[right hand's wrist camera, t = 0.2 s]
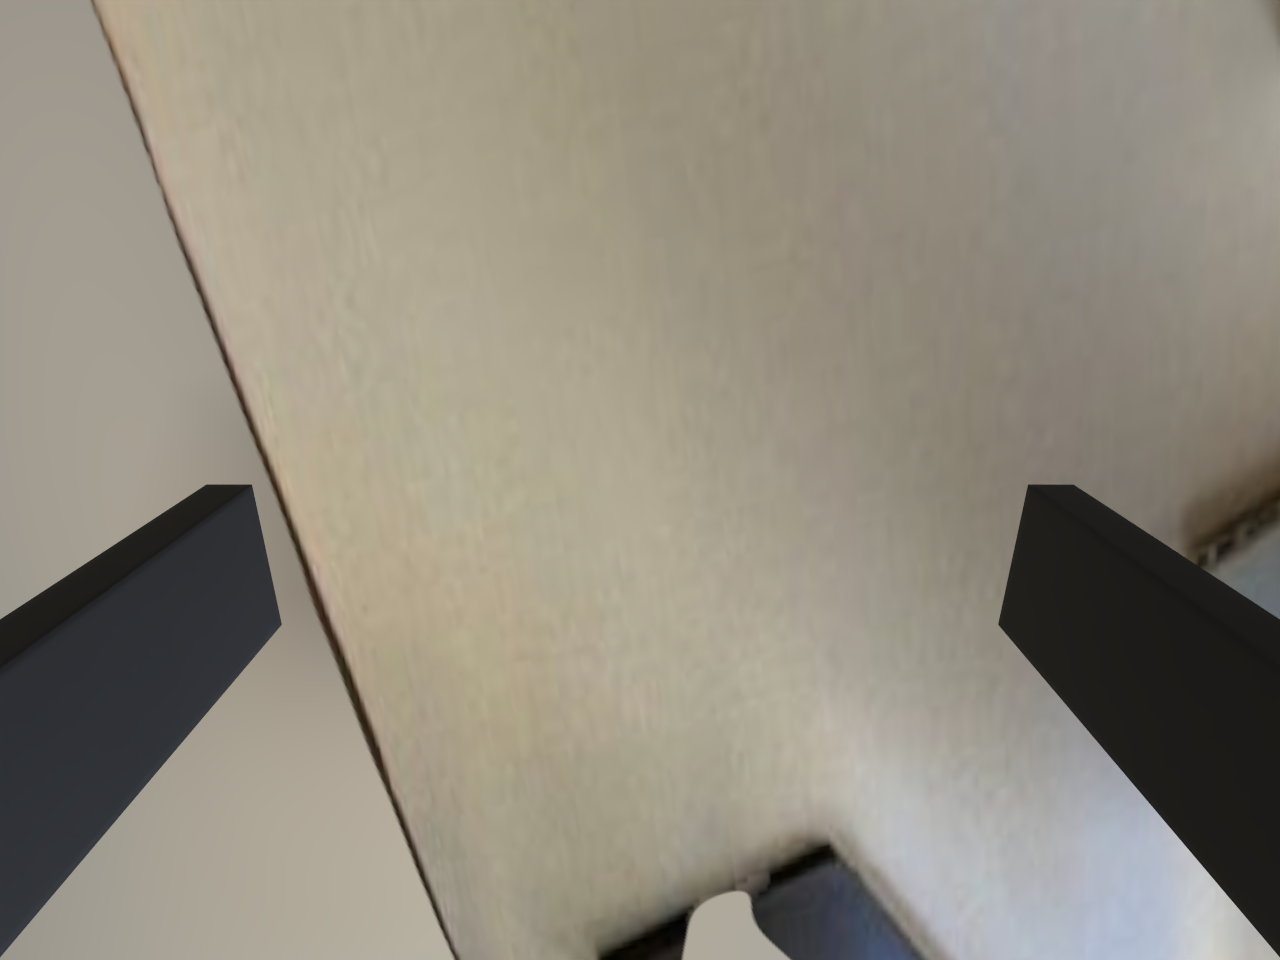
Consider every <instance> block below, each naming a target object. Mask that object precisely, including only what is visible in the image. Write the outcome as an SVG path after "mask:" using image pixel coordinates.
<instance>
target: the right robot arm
mask: <svg viewBox="0 0 1280 960" xmlns="http://www.w3.org/2000/svg"><path fill="white" fill-rule="evenodd" d="M998 625H999V626H1000V627H1001V628H1002V629H1003V631H1004V632H1005V633H1006V634H1007V635H1008V637H1009V638H1010V639H1011V640H1012V641H1013V642H1014V644H1015V645H1016V646H1017V647H1018V648H1019V650H1020V651H1021V652H1022V653H1023V654H1024V655H1025V657H1026V658H1027V659H1028V660H1029V661H1030V663H1031V664H1032V665H1033V666H1034V667H1035V668H1036V670H1037V671H1038V672H1039V673H1040V674H1041V676H1042V677H1043V678H1044V679H1045V680H1046V681H1047V683H1048V684H1049V685H1050V686H1051V687H1052V689H1053V690H1054V691H1055V692H1056V693H1057V694H1058V696H1059V697H1060V698H1061V699H1062V700H1063V702H1064V703H1065V704H1066V705H1067V706H1068V707H1069V709H1070V710H1071V711H1072V712H1073V713H1074V715H1075V716H1076V717H1077V718H1078V719H1079V720H1080V722H1081V723H1082V724H1083V725H1084V726H1085V728H1086V729H1087V730H1088V731H1089V732H1090V733H1091V735H1092V736H1093V737H1094V738H1095V739H1096V741H1097V742H1098V743H1099V744H1100V745H1101V746H1102V748H1103V749H1104V750H1105V751H1106V752H1107V754H1108V755H1109V756H1110V757H1111V758H1112V759H1113V761H1114V762H1115V763H1116V764H1117V765H1118V767H1119V768H1120V769H1121V770H1122V771H1123V772H1124V774H1125V775H1126V776H1127V777H1128V778H1129V780H1130V781H1131V782H1132V783H1133V784H1134V785H1135V787H1136V788H1137V789H1138V790H1139V791H1140V792H1141V794H1142V795H1143V796H1144V797H1145V798H1146V800H1147V801H1148V802H1149V803H1150V804H1151V805H1152V807H1153V808H1154V809H1155V810H1156V811H1157V813H1158V814H1159V815H1160V816H1161V817H1162V818H1163V820H1164V821H1165V822H1166V823H1167V824H1168V826H1169V827H1170V828H1171V829H1172V830H1173V831H1174V833H1175V834H1176V835H1177V836H1178V837H1179V839H1180V840H1181V841H1182V842H1183V843H1184V844H1185V846H1186V847H1187V848H1188V849H1189V850H1190V852H1191V853H1192V854H1193V855H1194V856H1195V857H1196V859H1197V860H1198V861H1199V862H1200V863H1201V865H1202V866H1203V867H1204V868H1205V869H1206V870H1207V872H1208V873H1209V874H1210V875H1211V876H1212V878H1213V879H1214V880H1215V881H1216V882H1217V883H1218V885H1219V886H1220V887H1221V888H1222V889H1223V891H1224V892H1225V893H1226V894H1227V895H1228V896H1229V898H1230V899H1231V900H1232V901H1233V902H1234V904H1235V905H1236V906H1237V907H1238V908H1239V909H1240V911H1241V912H1242V913H1243V914H1244V915H1245V917H1246V918H1247V919H1248V920H1249V921H1250V922H1251V924H1252V925H1253V926H1254V927H1255V928H1256V930H1257V931H1258V932H1259V933H1260V934H1261V935H1262V937H1263V938H1264V939H1265V940H1266V941H1267V943H1268V944H1269V945H1270V946H1271V947H1272V948H1273V950H1274V951H1275V952H1276V953H1277V954H1278V956H1279V957H1280V619H1278V618H1277V617H1275V616H1274V615H1272V614H1270V613H1269V612H1267V611H1266V610H1264V609H1263V608H1261V607H1260V606H1258V605H1257V604H1255V603H1254V602H1252V601H1251V600H1249V599H1248V598H1246V597H1244V596H1243V595H1241V594H1240V593H1238V592H1237V591H1235V590H1234V589H1232V588H1231V587H1229V586H1228V585H1226V584H1225V583H1223V582H1222V581H1220V580H1218V579H1217V578H1215V577H1214V576H1212V575H1211V574H1209V573H1208V572H1206V571H1205V570H1203V569H1202V568H1200V567H1199V566H1197V565H1196V564H1194V563H1192V562H1191V561H1189V560H1188V559H1186V558H1185V557H1183V556H1182V555H1180V554H1179V553H1177V552H1176V551H1174V550H1173V549H1171V548H1170V547H1168V546H1167V545H1165V544H1163V543H1162V542H1160V541H1159V540H1157V539H1156V538H1154V537H1153V536H1151V535H1150V534H1148V533H1147V532H1145V531H1144V530H1142V529H1141V528H1139V527H1137V526H1136V525H1134V524H1133V523H1131V522H1130V521H1128V520H1127V519H1125V518H1124V517H1122V516H1121V515H1119V514H1118V513H1116V512H1115V511H1113V510H1111V509H1110V508H1108V507H1107V506H1105V505H1104V504H1102V503H1101V502H1099V501H1098V500H1096V499H1095V498H1093V497H1092V496H1090V495H1089V494H1087V493H1085V492H1084V491H1082V490H1081V489H1079V488H1078V487H1076V486H1075V485H1028V488H1027V493H1026V497H1025V502H1024V507H1023V511H1022V516H1021V521H1020V525H1019V530H1018V535H1017V539H1016V544H1015V549H1014V553H1013V558H1012V563H1011V567H1010V572H1009V577H1008V582H1007V586H1006V591H1005V596H1004V600H1003V605H1002V610H1001V614H1000V619H999V624H998ZM280 626H281V619H280V614H279V610H278V605H277V601H276V596H275V591H274V586H273V582H272V577H271V572H270V567H269V563H268V558H267V554H266V549H265V544H264V539H263V535H262V530H261V525H260V521H259V516H258V512H257V507H256V502H255V497H254V493H253V488H252V485H205V486H204V487H202V488H201V489H199V490H198V491H196V492H195V493H193V494H192V495H190V496H188V497H187V498H185V499H184V500H182V501H181V502H179V503H178V504H176V505H175V506H173V507H172V508H170V509H169V510H167V511H166V512H164V513H162V514H161V515H159V516H158V517H156V518H155V519H153V520H152V521H150V522H149V523H147V524H146V525H144V526H143V527H141V528H140V529H138V530H137V531H135V532H133V533H132V534H130V535H129V536H127V537H126V538H124V539H123V540H121V541H120V542H118V543H117V544H115V545H113V546H112V547H110V548H109V549H107V550H106V551H104V552H103V553H101V554H100V555H98V556H97V557H95V558H94V559H92V560H91V561H89V562H88V563H86V564H84V565H83V566H81V567H80V568H78V569H77V570H75V571H74V572H72V573H71V574H69V575H68V576H66V577H65V578H63V579H62V580H60V581H59V582H57V583H55V584H54V585H52V586H51V587H49V588H48V589H46V590H45V591H43V592H42V593H40V594H39V595H37V596H36V597H34V598H33V599H31V600H29V601H28V602H26V603H25V604H23V605H22V606H20V607H19V608H17V609H16V610H14V611H13V612H11V613H10V614H8V615H6V616H5V617H3V618H2V619H0V957H1V956H2V954H3V953H4V952H5V951H6V950H7V948H8V947H9V946H10V945H11V944H12V942H13V941H14V940H15V939H16V938H17V937H18V935H19V934H20V933H21V932H22V931H23V929H24V928H25V927H26V926H27V925H28V924H29V922H30V921H31V920H32V919H33V918H34V917H35V915H36V914H37V913H38V912H39V911H40V909H41V908H42V907H43V906H44V905H45V903H46V902H47V901H48V900H49V899H50V898H51V896H52V895H53V894H54V893H55V892H56V890H57V889H58V888H59V887H60V886H61V885H62V883H63V882H64V881H65V880H66V879H67V878H68V876H69V875H70V874H71V873H72V872H73V870H74V869H75V868H76V867H77V866H78V865H79V863H80V862H81V861H82V860H83V859H84V857H85V856H86V855H87V854H88V853H89V852H90V850H91V849H92V848H93V847H94V846H95V844H96V843H97V842H98V841H99V840H100V839H101V837H102V836H103V835H104V834H105V833H106V831H107V830H108V829H109V828H110V827H111V825H112V824H113V823H114V822H115V821H116V820H117V818H118V817H119V816H120V815H121V814H122V813H123V811H124V810H125V809H126V808H127V807H128V805H129V804H130V803H131V802H132V801H133V800H134V798H135V797H136V796H137V795H138V794H139V792H140V791H141V790H142V789H143V788H144V787H145V785H146V784H147V783H148V782H149V781H150V780H151V778H152V777H153V776H154V775H155V774H156V772H157V771H158V770H159V769H160V768H161V767H162V765H163V764H164V763H165V762H166V761H167V759H168V758H169V757H170V756H171V755H172V753H173V752H174V751H175V750H176V749H177V747H178V746H179V745H180V744H181V743H182V742H183V741H184V739H185V738H186V737H187V736H188V735H189V733H190V732H191V731H192V730H193V729H194V728H195V726H196V725H197V724H198V723H199V722H200V720H201V719H202V718H203V717H204V716H205V715H206V713H207V712H208V711H209V710H210V709H211V707H212V706H213V705H214V704H215V703H216V702H217V700H218V699H219V698H220V697H221V696H222V694H223V693H224V692H225V691H226V690H227V689H228V687H229V686H230V685H231V684H232V683H233V681H234V680H235V679H236V678H237V677H238V676H239V674H240V673H241V672H242V671H243V670H244V668H245V667H246V666H247V665H248V664H249V663H250V661H251V660H252V659H253V658H254V657H255V655H256V654H257V653H258V652H259V651H260V649H261V648H262V647H263V646H264V645H265V644H266V642H267V641H268V640H269V639H270V638H271V637H272V635H273V634H274V633H275V632H276V631H277V629H278V628H279V627H280Z"/></svg>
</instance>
